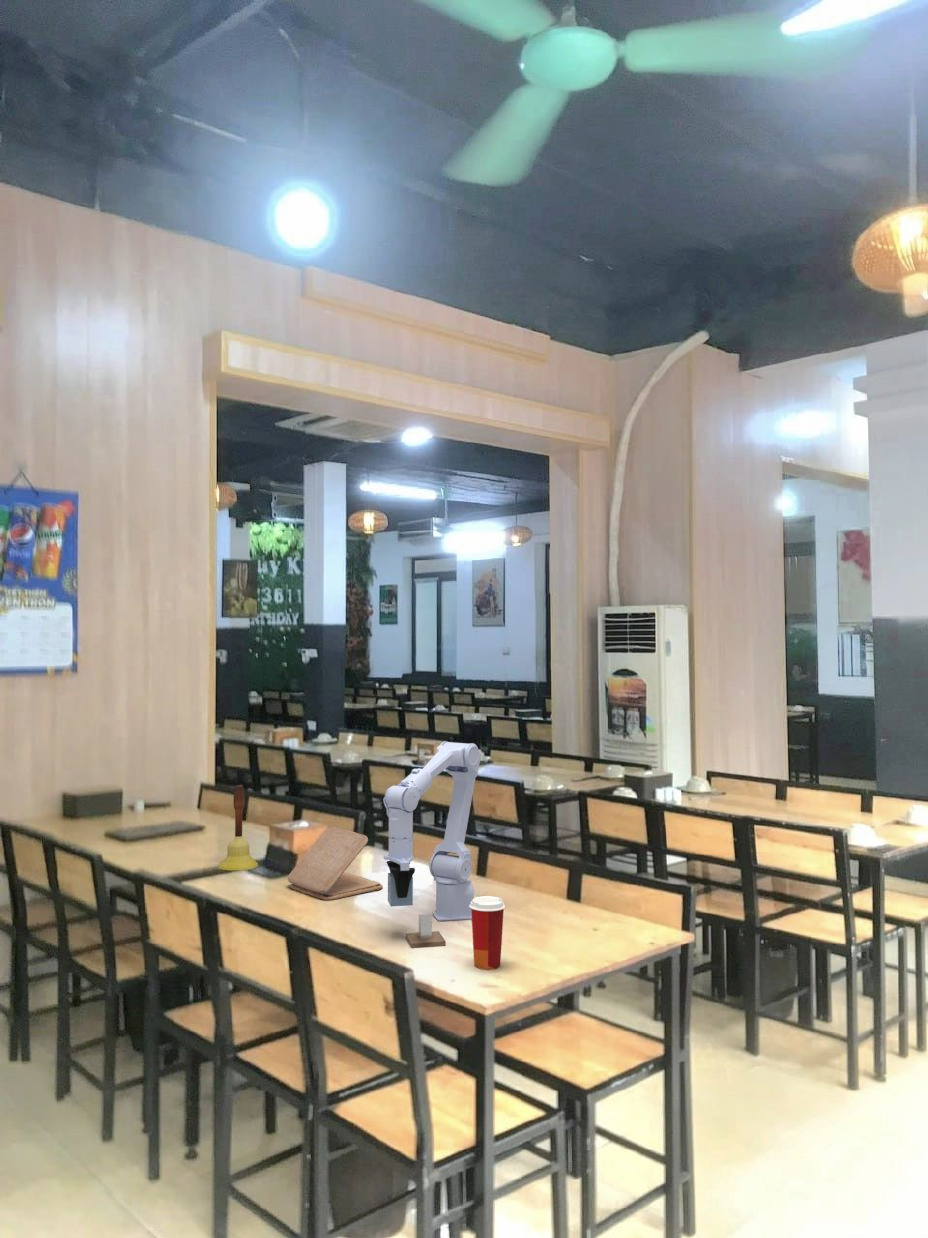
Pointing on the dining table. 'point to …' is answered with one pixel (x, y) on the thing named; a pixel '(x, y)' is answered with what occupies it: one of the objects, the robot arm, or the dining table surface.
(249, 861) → the handbell
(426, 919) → the post
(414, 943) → the board
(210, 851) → the dining table surface
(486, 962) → the paper cup
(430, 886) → the dining table surface
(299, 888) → the case
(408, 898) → the blue-grey block
